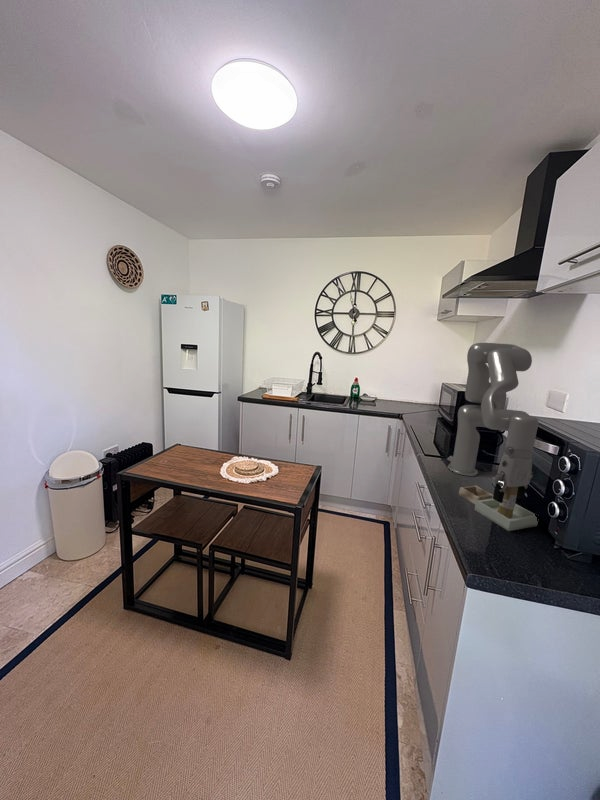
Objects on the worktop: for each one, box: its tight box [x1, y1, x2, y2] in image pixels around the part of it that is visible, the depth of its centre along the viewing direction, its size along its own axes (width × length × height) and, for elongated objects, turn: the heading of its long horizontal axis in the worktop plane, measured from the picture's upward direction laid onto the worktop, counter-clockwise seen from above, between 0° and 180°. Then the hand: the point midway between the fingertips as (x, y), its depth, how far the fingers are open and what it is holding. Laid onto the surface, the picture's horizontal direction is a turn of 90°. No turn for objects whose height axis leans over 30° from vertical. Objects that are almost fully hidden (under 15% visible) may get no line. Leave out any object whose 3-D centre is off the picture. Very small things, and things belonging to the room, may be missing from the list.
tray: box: [474, 498, 539, 532], centre depth 107 cm, size 13×13×4 cm
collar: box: [458, 485, 493, 505], centre depth 119 cm, size 8×8×3 cm
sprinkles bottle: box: [497, 482, 518, 518], centre depth 106 cm, size 5×5×13 cm
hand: (508, 499), depth 106 cm, fingers open, 9 cm apart
